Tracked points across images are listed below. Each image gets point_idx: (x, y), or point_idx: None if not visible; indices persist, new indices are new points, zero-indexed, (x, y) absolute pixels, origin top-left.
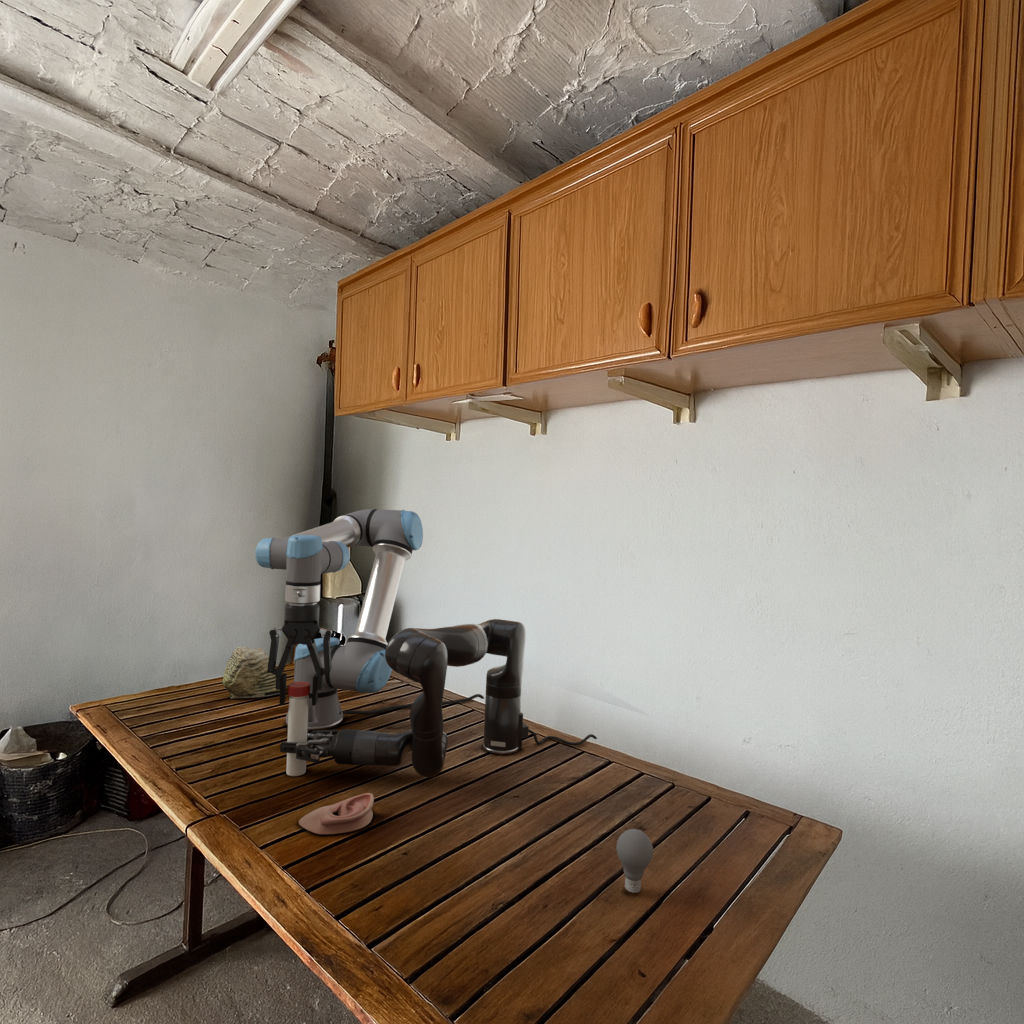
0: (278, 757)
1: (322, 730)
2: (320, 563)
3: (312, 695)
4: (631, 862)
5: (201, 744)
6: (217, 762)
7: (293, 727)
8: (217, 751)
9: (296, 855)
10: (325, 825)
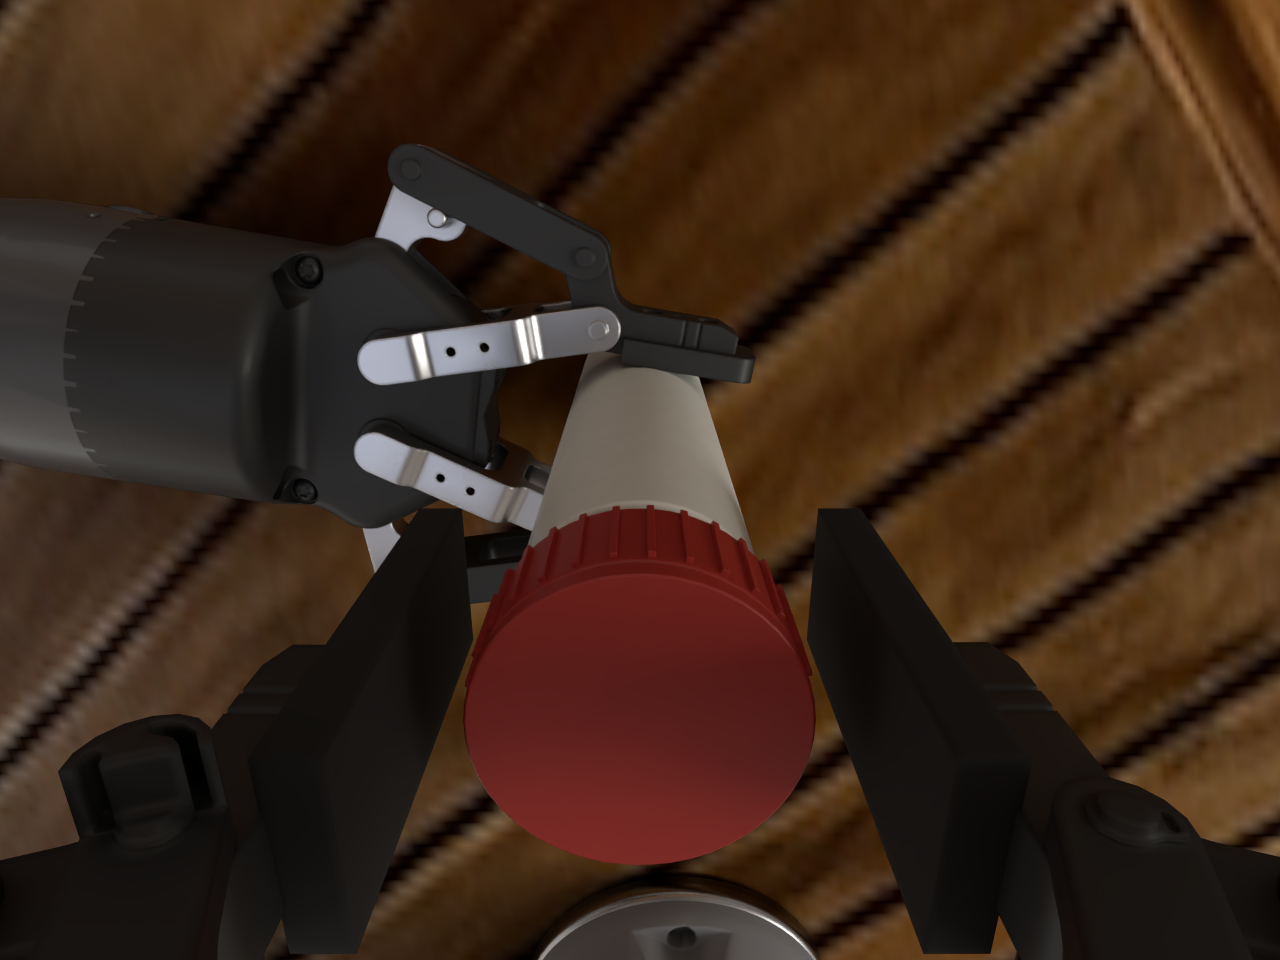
0: (782, 578)
1: (483, 598)
2: None
3: (424, 568)
4: None
5: (1226, 741)
6: (1113, 518)
7: (662, 403)
8: (1131, 656)
9: None
10: None
